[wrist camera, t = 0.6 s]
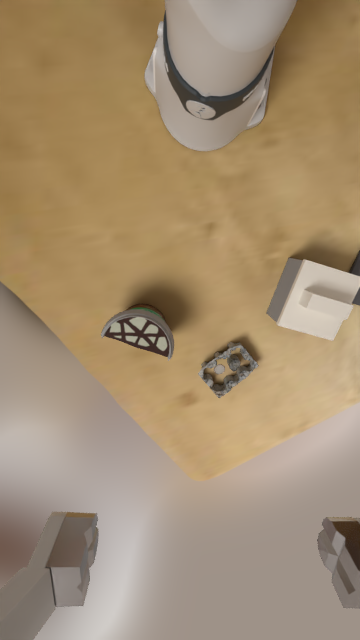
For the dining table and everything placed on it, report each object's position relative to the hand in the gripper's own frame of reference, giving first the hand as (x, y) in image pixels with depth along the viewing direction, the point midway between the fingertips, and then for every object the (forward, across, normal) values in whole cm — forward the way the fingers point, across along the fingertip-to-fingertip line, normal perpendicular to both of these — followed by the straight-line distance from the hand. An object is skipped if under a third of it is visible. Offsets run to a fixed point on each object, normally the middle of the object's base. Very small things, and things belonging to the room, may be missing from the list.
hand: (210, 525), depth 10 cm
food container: (+43, +6, +6) cm, 44 cm away
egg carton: (+43, -10, +15) cm, 47 cm away
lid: (+37, -23, 0) cm, 43 cm away
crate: (+43, -23, 0) cm, 48 cm away
